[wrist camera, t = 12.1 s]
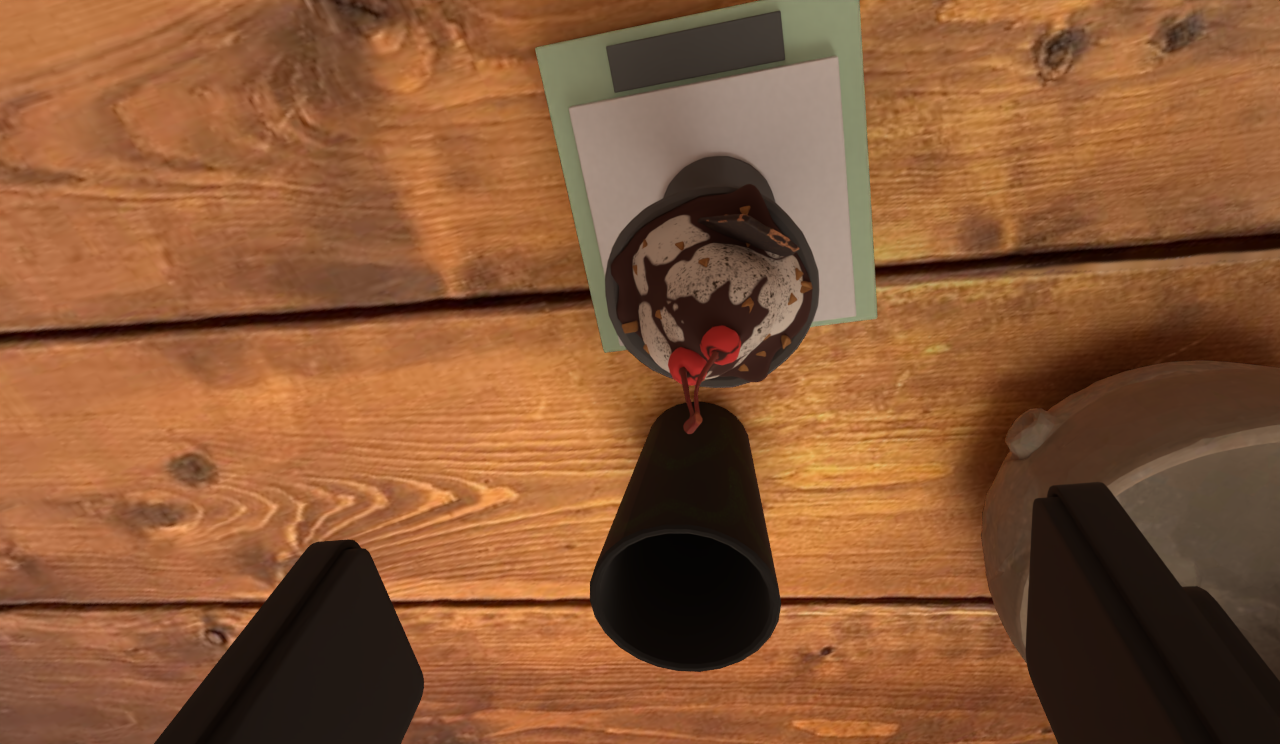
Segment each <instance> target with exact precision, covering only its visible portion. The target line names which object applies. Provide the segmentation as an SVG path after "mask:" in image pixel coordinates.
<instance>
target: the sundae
mask: <svg viewBox="0 0 1280 744" xmlns="http://www.w3.org/2000/svg"><path fill="white" fill-rule="evenodd" d="M819 291H820V289H819V271H818V268H817V265H816V262H815V259H814V256H813V253H812V250H811V248H810V246H809V244H808V242H807V240H806V238H805V236H804V234H803V232H802V231H801V230H800V228H799V227H798V226H797V225H796V224H795V222H794V221H793V220H792V219H791V217H790V216H789V215H788V214H787V213H786V212H785V211H784V210H783V209H782V208H781V207H780V206H779V205H778V204H777V203H775V199H774V196H773V193H772V190H771V188H770V186H769V184H768V182H767V180H766V179H765V178H764V177H763V176H762V174H761V173H760V172H759V171H758V170H756V169H755V168H754V167H753V166H752V165H750V164H749V163H746V162H744V161H742V160H740V159H736V158H733V157H730V156H712V157H705V158H702V159H700V160H697V161H695V162H693V163H691V164H689V165H687V166H685V167H684V168H683V169H682V170H681V171H680V172H679V173H678V174H677V175H676V176H675V177H674V178H673V180H672V181H671V182H670V183H669V185H668V187H667V190H666V192H665V194H664V198H663V199H661V200H659V201H657V202H655V203H653V204H651V205H650V206H648V207H646V208H645V209H644V210H642V211H641V212H640V213H639V214H638V215H637V216H636V217H635V218H633V219H632V220H631V221H630V222H629V223H628V224H627V226H626V227H625V228H624V229H623V230H622V231H621V232H620V234H619V236H618V237H617V239H616V241H615V243H614V245H613V247H612V250H611V253H610V256H609V259H608V262H607V268H606V274H605V295H606V302H607V308H608V314H609V317H610V320H611V322H612V324H613V326H614V329H615V331H616V333H617V335H618V336H619V338H620V340H621V341H622V343H623V344H624V346H625V347H626V349H627V350H628V351H629V352H630V353H631V354H632V355H634V356H635V357H636V358H637V359H638V360H639V361H640V362H642V363H643V364H644V365H646V366H647V367H649V368H650V369H652V370H653V371H656V372H658V373H660V374H662V375H664V376H667V377H669V378H672V379H675V380H676V381H677V382H679V383H681V384H682V385H683V390H684V394H685V399H686V402H687V406H688V409H689V412H690V418H689V419H688V420H687V421H686V422H685V423H684V425H683V427H684V431H685V432H686V433H687V434H692V433H694V431H695V430H696V429H697V427H698V426H699V425H700V424H701V423H702V417H701V415H700V410H699V403H698V391H699V386H700V387H710V388H726V387H736V386H739V385H743V384H746V383H750V382H759V381H762V380H763V379H765V378H766V377H767V375H768V374H770V373H771V372H772V371H773V370H775V369H776V368H777V367H778V366H780V365H781V364H782V363H783V362H784V361H786V360H787V359H788V357H789V356H790V355H791V354H792V353H793V352H794V351H795V350H796V349H797V348H798V346H799V345H800V343H801V342H802V340H803V339H804V337H805V336H806V334H807V332H808V330H809V328H810V326H811V324H812V322H813V320H814V317H815V314H816V311H817V308H818V303H819ZM689 385H695V390H694V407H695V413H694V410H693V407H692V403H691V400H690V394H689Z"/></svg>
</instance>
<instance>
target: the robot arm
mask: <svg viewBox="0 0 1280 744" xmlns="http://www.w3.org/2000/svg"><path fill="white" fill-rule="evenodd" d="M1025 650H1026V661H1027V666H1028V671H1029V674H1030V677H1031V680H1032V683H1033V685H1034V687H1035V690H1036V692H1037V695H1038V697H1039V699H1040V702H1041V704H1042V706H1043V709H1044V711H1045V713H1046V716H1047V718H1048V721H1049V723H1050V725H1051V728H1052V730H1053V732H1054V735H1055V737H1056V739H1057V742H1058V744H1280V681H1279V680H1278V678H1277V677H1276V676H1275V675H1274V673H1273V672H1272V671H1271V669H1270V668H1269V667H1268V666H1267V664H1266V663H1265V662H1264V660H1263V659H1262V658H1261V657H1260V655H1259V654H1258V653H1257V652H1256V650H1255V649H1254V648H1253V646H1252V645H1251V644H1250V643H1249V641H1248V640H1247V639H1246V638H1245V636H1244V635H1243V634H1242V632H1241V631H1240V630H1239V629H1238V627H1237V626H1236V625H1235V624H1234V622H1233V621H1232V620H1231V618H1230V617H1229V616H1228V615H1227V613H1226V612H1225V611H1224V609H1223V608H1222V607H1221V606H1220V604H1219V603H1218V602H1217V601H1216V600H1215V599H1214V598H1213V597H1212V596H1211V595H1210V594H1209V593H1208V592H1207V591H1206V590H1204V589H1202V588H1200V587H1198V586H1188V587H1182V586H1181V585H1180V584H1179V582H1178V581H1177V580H1176V578H1175V577H1174V576H1173V574H1172V573H1171V572H1170V570H1169V569H1168V567H1167V566H1166V565H1165V563H1164V562H1163V561H1162V559H1161V558H1160V557H1159V555H1158V554H1157V553H1156V551H1155V550H1154V549H1153V547H1152V546H1151V545H1150V543H1149V542H1148V541H1147V539H1146V538H1145V537H1144V535H1143V534H1142V533H1141V531H1140V530H1139V529H1138V527H1137V526H1136V524H1135V523H1134V522H1133V520H1132V519H1131V518H1130V516H1129V515H1128V514H1127V512H1126V511H1125V510H1124V508H1123V507H1122V506H1121V504H1120V503H1119V502H1118V500H1117V499H1116V498H1115V496H1114V495H1113V494H1112V492H1111V491H1110V490H1109V488H1108V487H1107V486H1106V485H1105V484H1104V483H1101V482H1090V483H1077V484H1064V485H1053V486H1051V487H1050V488H1049V490H1048V493H1047V497H1046V498H1036V499H1035V500H1034V502H1033V509H1032V529H1031V549H1030V568H1029V588H1028V608H1027V628H1026V648H1025ZM423 689H424V678H423V674H422V671H421V668H420V666H419V664H418V662H417V659H416V657H415V655H414V652H413V650H412V648H411V646H410V643H409V641H408V639H407V637H406V634H405V632H404V630H403V627H402V625H401V623H400V621H399V618H398V616H397V614H396V611H395V609H394V607H393V605H392V602H391V600H390V598H389V596H388V593H387V591H386V589H385V586H384V584H383V582H382V580H381V577H380V575H379V573H378V571H377V568H376V566H375V564H374V561H373V559H372V557H371V555H370V553H369V552H368V551H367V550H366V549H363V548H361V547H360V546H359V544H358V543H357V542H355V541H354V540H337V541H324V542H316V543H313V544H312V545H310V546H309V547H308V548H307V549H306V551H305V552H304V553H303V554H302V556H301V557H300V558H299V560H298V561H297V562H296V563H295V565H294V566H293V567H292V568H291V570H290V571H289V572H288V574H287V575H286V576H285V577H284V579H283V580H282V581H281V582H280V584H279V585H278V586H277V588H276V589H275V590H274V591H273V593H272V594H271V595H270V597H269V598H268V599H267V600H266V602H265V603H264V604H263V605H262V607H261V608H260V609H259V611H258V612H257V613H256V614H255V616H254V617H253V618H252V619H251V621H250V622H249V623H248V625H247V626H246V627H245V628H244V630H243V631H242V632H241V633H240V635H239V636H238V637H237V639H236V640H235V641H234V642H233V644H232V645H231V646H230V647H229V649H228V650H227V651H226V653H225V654H224V655H223V656H222V658H221V659H220V660H219V661H218V663H217V664H216V665H215V667H214V668H213V669H212V670H211V672H210V673H209V674H208V676H207V677H206V678H205V679H204V681H203V682H202V683H201V684H200V686H199V687H198V688H197V690H196V691H195V692H194V693H193V695H192V696H191V697H190V698H189V700H188V701H187V702H186V704H185V705H184V706H183V707H182V709H181V710H180V711H179V712H178V714H177V715H176V716H175V718H174V719H173V720H172V721H171V723H170V724H169V725H168V726H167V728H166V729H165V730H164V732H163V733H162V734H161V735H160V737H159V738H158V739H157V741H156V742H155V743H154V744H401V742H402V740H403V738H404V735H405V733H406V731H407V729H408V727H409V725H410V722H411V720H412V718H413V716H414V714H415V711H416V709H417V707H418V705H419V703H420V700H421V697H422V694H423Z"/></svg>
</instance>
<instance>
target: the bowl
mask: <svg viewBox="0 0 1280 744" xmlns="http://www.w3.org/2000/svg"><path fill="white" fill-rule="evenodd" d="M1005 441H1006V444H1007V446H1008V448H1009V449H1010V452H1009V453H1008V455H1007V456H1006V458H1005V460H1004V461H1003V463H1002V465H1001V467H1000V469H999V471H998V473H997V476H996V478H995V480H994V482H993V484H992V485H991V487H990V489H989V490H988V492H987V494H986V500H985V506H984V509H983V512H982V532H981V539H982V546H983V552H984V561H985V569H986V576H987V581H988V586H989V590H990V593H991V596H992V599H993V602H994V605H995V608H996V610H997V613H998V615H999V617H1000V619H1001V621H1002V624H1003V626H1004V628H1005V630H1006V631H1007V633H1008V635H1009V637H1010V639H1011V641H1012V643H1013V644H1014V646H1015V647H1016V649H1017V650H1018V652H1019V653H1020V654H1021V656H1022V657H1023V659H1024V660H1025V662H1026V663H1027V661H1026V650H1025V648H1026V628H1027V608H1028V588H1029V568H1030V549H1031V529H1032V509H1033V502H1034V500H1035V499H1036V498H1046V497H1047V493H1048V490H1049V488H1050V487H1051V486H1053V485H1064V484H1077V483H1090V482H1101V483H1104V484H1105V485H1106V486H1107V487H1108V488H1109V490H1110V491H1111V492H1112V494H1113V495H1114V496H1115V498H1116V499H1117V500H1118V502H1119V503H1120V504H1121V506H1122V507H1123V508H1124V510H1125V511H1126V512H1127V514H1128V515H1129V516H1130V518H1131V519H1132V520H1133V522H1134V523H1135V524H1136V526H1137V527H1138V529H1139V530H1140V531H1141V533H1142V534H1143V535H1144V537H1145V538H1146V539H1147V541H1148V542H1149V543H1150V545H1151V546H1152V547H1153V549H1154V550H1155V551H1156V553H1157V554H1158V555H1159V557H1160V558H1161V559H1162V561H1163V562H1164V563H1165V565H1166V566H1167V567H1168V569H1169V570H1170V572H1171V573H1172V574H1173V576H1174V577H1175V578H1176V580H1177V581H1178V582H1179V584H1180V585H1181V586H1182V587H1188V586H1198V587H1200V588H1202V589H1204V590H1206V591H1207V592H1208V593H1209V594H1210V595H1211V596H1212V597H1213V598H1214V599H1215V600H1216V601H1217V602H1218V603H1219V604H1220V606H1221V607H1222V608H1223V609H1224V611H1225V612H1226V613H1227V615H1228V616H1229V617H1230V618H1231V620H1232V621H1233V622H1234V624H1235V625H1236V626H1237V627H1238V629H1239V630H1240V631H1241V632H1242V634H1243V635H1244V636H1245V638H1246V639H1247V640H1248V641H1249V643H1250V644H1251V645H1252V646H1253V648H1254V649H1255V650H1256V652H1257V653H1258V654H1259V655H1260V657H1261V658H1262V659H1263V660H1264V662H1265V663H1266V664H1267V666H1268V667H1269V668H1270V669H1271V671H1272V672H1273V673H1274V675H1275V676H1276V677H1277V678H1278V680H1279V681H1280V368H1277V367H1270V366H1261V365H1252V364H1244V363H1234V362H1221V361H1207V360H1198V361H1176V362H1167V363H1160V364H1155V365H1150V366H1145V367H1140V368H1136V369H1132V370H1128V371H1124V372H1122V373H1119V374H1116V375H1113V376H1110V377H1107V378H1105V379H1102V380H1099V381H1096V382H1094V383H1093V384H1091V385H1090V386H1088V387H1087V388H1085V389H1083V390H1080V391H1078V392H1076V393H1074V394H1072V395H1070V396H1068V397H1066V398H1065V399H1063V400H1062V401H1060V402H1059V403H1057V404H1056V405H1054V406H1053V407H1051V408H1050V409H1049V410H1048V411H1045V410H1044V409H1042V408H1036V409H1029V410H1027V411H1026V412H1024V413H1023V414H1021V415H1020V416H1019V417H1018V418H1017V419H1016V420H1015V421H1014V423H1013V424H1012V426H1011V428H1010V429H1009V431H1008V433H1007V436H1006V439H1005Z"/></svg>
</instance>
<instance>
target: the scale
mask: <svg viewBox="0 0 1280 744" xmlns="http://www.w3.org/2000/svg"><path fill="white" fill-rule="evenodd" d="M535 51H536V56H537V60H538V64H539V69H540V73H541V78H542V82H543V86H544V91H545V95H546V100H547V104H548V108H549V113H550V117H551V122H552V126H553V130H554V135H555V139H556V144H557V148H558V152H559V157H560V161H561V166H562V170H563V174H564V179H565V183H566V187H567V192H568V196H569V201H570V205H571V209H572V214H573V218H574V223H575V227H576V231H577V236H578V240H579V245H580V249H581V253H582V258H583V262H584V267H585V271H586V275H587V280H588V284H589V289H590V293H591V297H592V302H593V306H594V311H595V315H596V319H597V324H598V328H599V333H600V337H601V341H602V346H603V350H604V352H605V353H606V352H614V351H622V350H627V349H626V347H625V346H624V344H623V343H622V341H621V340H620V338H619V336H618V335H617V333H616V331H615V329H614V326H613V324H612V322H611V320H610V317H609V314H608V308H607V302H606V295H605V274H606V268H607V262H608V259H609V256H610V253H611V250H612V247H613V245H614V243H615V241H616V239H617V237H618V236H619V234H620V232H621V231H622V230H623V229H624V228H625V227H626V226H627V224H628V223H629V222H630V221H631V220H632V219H633V218H635V217H636V216H637V215H638V214H639V213H640V212H641V211H642V210H644V209H645V208H646V207H648V206H650V205H651V204H653V203H655V202H657V201H659V200H661V199H663V198H664V194H665V192H666V190H667V187H668V185H669V183H670V182H671V181H672V180H673V178H674V177H675V176H676V175H677V174H678V173H679V172H680V171H681V170H682V169H683V168H684V167H685V166H687V165H689V164H691V163H693V162H695V161H697V160H700V159H702V158H705V157H712V156H730V157H733V158H736V159H740V160H742V161H744V162H746V163H749V164H750V165H752V166H753V167H754V168H755V169H756V170H758V171H759V172H760V173H761V174H762V176H763V177H764V178H765V179H766V180H767V182H768V184H769V186H770V188H771V190H772V193H773V196H774V199H775V203H777V204H778V205H779V206H780V207H781V208H782V209H783V210H784V211H785V212H786V213H787V214H788V215H789V216H790V217H791V219H792V220H793V221H794V222H795V224H796V225H797V226H798V227H799V228H800V230H801V231H802V232H803V234H804V236H805V238H806V240H807V242H808V244H809V246H810V248H811V250H812V253H813V256H814V259H815V262H816V265H817V268H818V271H819V289H820V291H819V303H818V308H817V311H816V314H815V317H814V320H813V322H812V324H811V326H810V327H814V326H822V325H830V324H838V323H846V322H854V321H862V320H870V319H876V318H877V317H878V316H877V299H876V281H875V264H874V246H873V229H872V211H871V194H870V176H869V159H868V141H867V124H866V106H865V89H864V71H863V54H862V36H861V19H860V1H859V0H759V1H754V2H750V3H745V4H740V5H735V6H731V7H726V8H721V9H716V10H711V11H707V12H702V13H697V14H692V15H688V16H683V17H678V18H673V19H668V20H664V21H659V22H654V23H649V24H645V25H640V26H635V27H630V28H625V29H621V30H616V31H611V32H606V33H602V34H597V35H592V36H587V37H582V38H578V39H573V40H568V41H563V42H559V43H554V44H549V45H544V46H539V47H536V48H535Z"/></svg>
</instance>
